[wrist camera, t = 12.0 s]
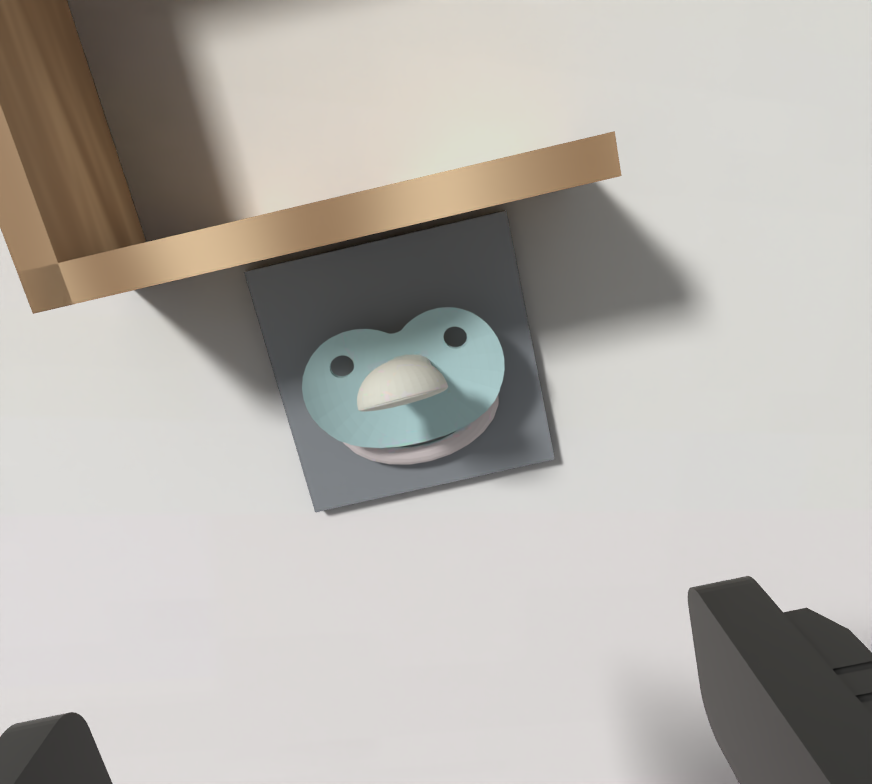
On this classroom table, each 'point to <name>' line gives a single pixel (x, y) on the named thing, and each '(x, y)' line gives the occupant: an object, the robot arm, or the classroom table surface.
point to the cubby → (206, 248)
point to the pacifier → (408, 388)
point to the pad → (389, 312)
